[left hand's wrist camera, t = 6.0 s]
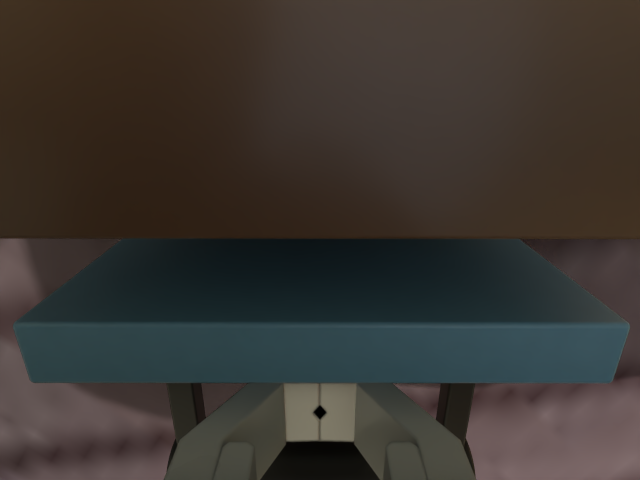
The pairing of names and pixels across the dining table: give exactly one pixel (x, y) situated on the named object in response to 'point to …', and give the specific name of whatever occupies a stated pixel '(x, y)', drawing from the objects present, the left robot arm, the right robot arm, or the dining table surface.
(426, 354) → the drawer
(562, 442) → the dining table surface
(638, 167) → the cabinet
